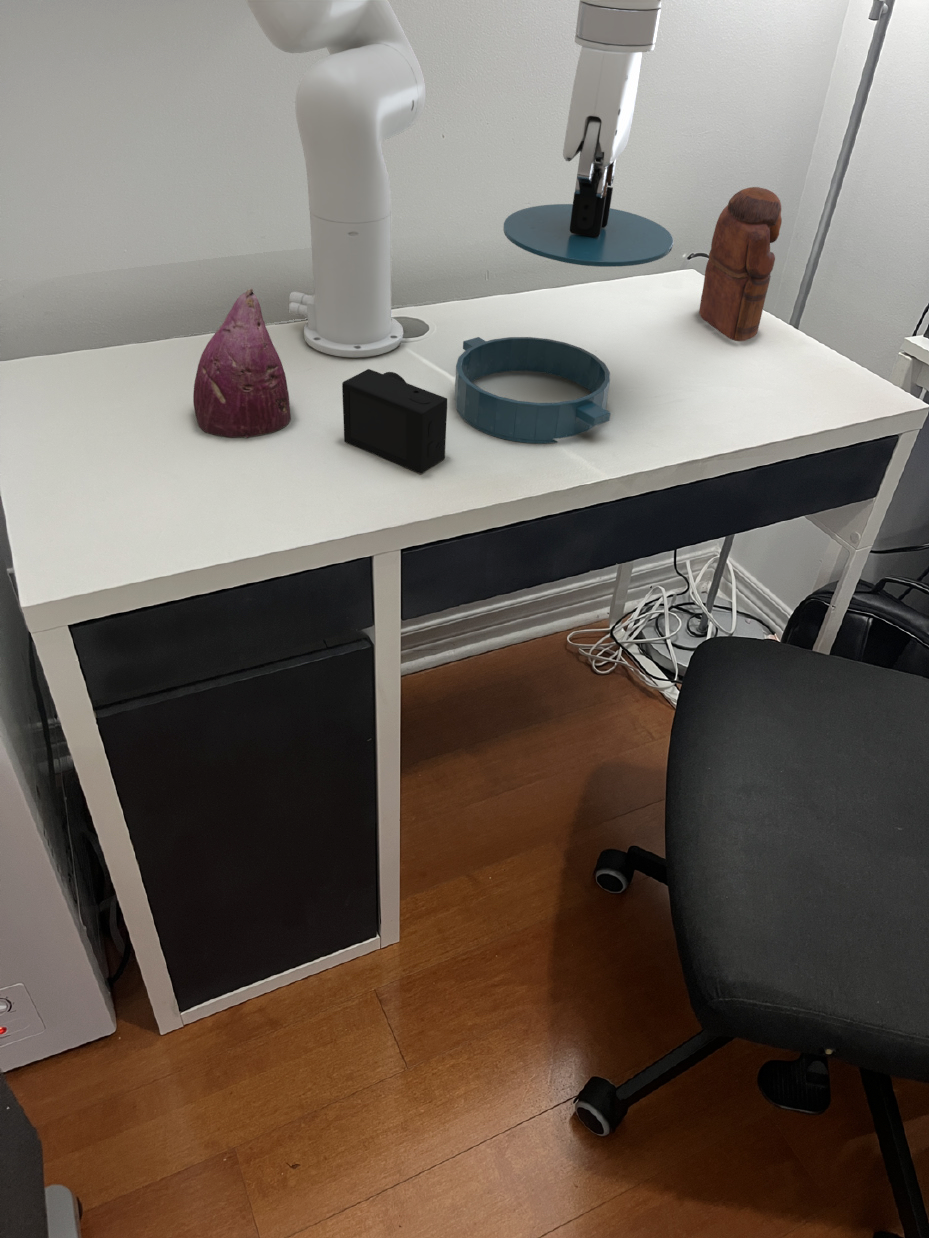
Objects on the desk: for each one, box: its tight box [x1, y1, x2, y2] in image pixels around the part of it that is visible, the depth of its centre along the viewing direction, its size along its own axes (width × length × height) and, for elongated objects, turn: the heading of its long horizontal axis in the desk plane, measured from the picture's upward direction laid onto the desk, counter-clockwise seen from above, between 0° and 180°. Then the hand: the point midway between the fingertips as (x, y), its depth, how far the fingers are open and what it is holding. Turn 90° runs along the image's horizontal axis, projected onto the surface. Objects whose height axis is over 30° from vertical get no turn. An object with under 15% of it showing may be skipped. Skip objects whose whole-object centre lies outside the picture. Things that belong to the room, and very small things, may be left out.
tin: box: [453, 336, 611, 444], centre depth 107 cm, size 17×23×5 cm
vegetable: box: [192, 287, 292, 439], centre depth 101 cm, size 10×10×15 cm
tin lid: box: [502, 180, 674, 268], centre depth 99 cm, size 18×18×6 cm
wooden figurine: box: [698, 186, 783, 342], centre depth 124 cm, size 12×6×18 cm, turn 19°
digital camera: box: [341, 368, 448, 475], centre depth 98 cm, size 10×5×7 cm, turn 55°
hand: (588, 228), depth 100 cm, fingers closed on tin lid, 2 cm apart
